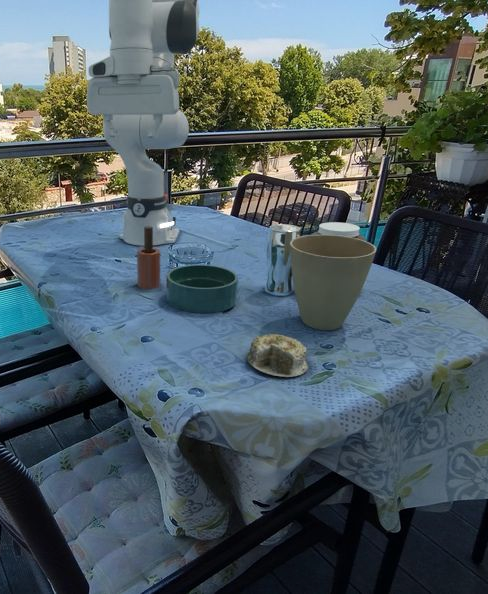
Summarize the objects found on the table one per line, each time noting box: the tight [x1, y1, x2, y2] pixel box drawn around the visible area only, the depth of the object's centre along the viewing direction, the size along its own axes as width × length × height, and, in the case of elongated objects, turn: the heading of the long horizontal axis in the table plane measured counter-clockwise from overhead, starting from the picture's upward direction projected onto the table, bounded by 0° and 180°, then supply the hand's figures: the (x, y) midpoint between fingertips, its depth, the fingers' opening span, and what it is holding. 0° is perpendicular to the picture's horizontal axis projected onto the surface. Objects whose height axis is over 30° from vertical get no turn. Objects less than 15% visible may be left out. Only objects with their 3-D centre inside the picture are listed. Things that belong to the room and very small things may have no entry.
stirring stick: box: [143, 226, 154, 253], centre depth 108 cm, size 2×2×14 cm
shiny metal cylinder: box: [264, 223, 302, 297], centre depth 104 cm, size 7×7×15 cm
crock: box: [136, 247, 161, 290], centre depth 109 cm, size 5×5×9 cm
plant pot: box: [290, 234, 377, 331], centre depth 89 cm, size 15×15×16 cm
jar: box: [310, 221, 367, 242], centre depth 105 cm, size 12×12×15 cm
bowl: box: [166, 264, 239, 314], centre depth 101 cm, size 15×15×6 cm
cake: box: [246, 333, 309, 378], centre depth 77 cm, size 10×10×5 cm
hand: (132, 137), depth 101 cm, fingers open, 8 cm apart
